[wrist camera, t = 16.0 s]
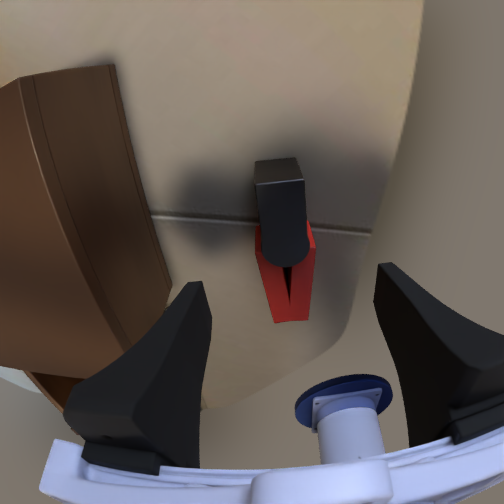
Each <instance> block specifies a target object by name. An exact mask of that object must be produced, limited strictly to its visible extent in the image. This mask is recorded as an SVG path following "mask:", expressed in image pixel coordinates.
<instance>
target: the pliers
mask: <svg viewBox="0 0 504 504" xmlns="http://www.w3.org/2000/svg"><path fill="white" fill-rule="evenodd" d="M254 186H255V193H256V200H257V208H258V215H259V223H260V225H257V226H256V227H255V255H256V259H257V263H258V266H259V270H260V273H261V277H262V281H263V284H264V288H265V292H266V295H267V299H268V302H269V306H270V310H271V313H272V317H273V321H274V323H280V322H286V321H303V320H308V316H309V308H310V300H311V291H312V282H313V273H314V264H315V254H316V245H315V242H314V238H313V235H312V231H311V228H310V224H309V221H308V220H307V213H306V196H305V181H304V178H303V175H302V172H301V170H300V167H299V165H298V162H297V160H296V158H295V157H294V158H284V159H273V160H264V161H256V162H255V183H254ZM285 267H286V268H285Z"/></svg>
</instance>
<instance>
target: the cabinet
mask: <svg viewBox="0 0 504 504" xmlns="http://www.w3.org/2000/svg"><path fill="white" fill-rule="evenodd" d="M171 288H172V283H171V280H170V277H169V274H168V271H167V268H166V265H165V262H164V258H163V255H162V252H161V249H160V246H159V243H158V239H157V236H156V233H155V230H154V226H153V223H152V220H151V216H150V213H149V209H148V206H147V202H146V199H145V195H144V192H143V188H142V184H141V180H140V177H139V173H138V169H137V165H136V161H135V157H134V153H133V149H132V145H131V141H130V137H129V133H128V128H127V124H126V119H125V115H124V110H123V106H122V101H121V96H120V91H119V86H118V81H117V76H116V70H115V65H114V64H112V65H99V66H89V67H80V68H72V69H64V70H57V71H51V72H45V73H39V74H34V75H29V76H24V77H19V78H17V79H15V80H13V81H12V82H10V83H8V84H7V85H5V86H3V87H2V88H0V366H3V367H9V368H14V369H19V370H25V371H31V372H37V373H44V374H51V375H58V376H66V377H74V378H83V379H87V378H89V377H91V376H93V375H94V374H96V373H98V372H99V371H101V370H102V369H104V368H105V367H107V366H108V365H110V364H111V363H112V362H114V361H115V360H116V359H118V358H119V357H120V356H121V355H123V354H124V353H125V352H126V351H128V350H129V349H130V348H131V347H132V346H133V345H135V344H136V343H137V342H138V341H139V340H140V339H141V338H142V337H143V336H144V335H145V334H146V333H147V332H148V331H149V330H150V329H151V327H152V326H153V325H154V324H155V323H156V322H157V321H158V319H159V318H160V317H161V316H162V315H163V313H164V309H165V306H166V303H167V300H168V297H169V294H170V291H171Z"/></svg>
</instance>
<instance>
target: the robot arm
mask: <svg viewBox="0 0 504 504" xmlns="http://www.w3.org/2000/svg"><path fill="white" fill-rule="evenodd" d="M373 303H374V307H375V311H376V314H377V318H378V322H379V325H380V327H381V330H382V332H383V335H384V337H385V340H386V342H387V345H388V348H389V350H390V353H391V355H392V358H393V361H394V363H395V366H396V370H397V373H398V377H399V382H400V386H401V390H402V395H403V401H404V406H405V412H406V419H407V427H408V436H409V448H408V449H405V450H401V451H396V452H392V453H387V454H385V449H384V444H383V440H382V435H381V430H380V426H379V421H378V418H377V413H376V408H377V405H378V402H379V399H380V397H381V394H382V388H374V389H368V390H362V391H356V392H349V393H343V394H335V395H328V396H320V397H315V398H314V399H313V409H312V430H311V431H312V433H318V439H319V449H320V459H321V465H315V466H306V467H294V468H282V469H260V470H259V469H258V470H217V469H200V463H199V462H200V461H199V425H200V404H201V390H202V383H203V378H204V372H205V367H206V362H207V357H208V352H209V346H210V341H211V330H212V315H211V312H210V308H209V305H208V301H207V298H206V294H205V291H204V287H203V283H202V281H198V282H188V283H187V284H186V285H185V286H184V288H183V289H182V290H181V291H180V293H179V294H178V295H177V297H176V298H175V299H174V301H173V302H172V303H171V305H170V306H169V307H168V308H167V310H166V311H165V312H164V313H163V315H162V316H161V317H160V318H159V319H158V321H157V322H156V323H155V324H154V325H153V326H152V327H151V329H150V330H149V331H148V332H147V333H146V334H145V335H144V336H143V337H142V338H141V339H140V340H139V341H138V342H137V343H136V344H135V345H133V346H132V347H131V348H130V349H129V350H128V351H126V352H125V353H124V354H123V355H121V356H120V357H119V358H118V359H116V360H115V361H114V362H112V363H111V364H110V365H108V366H107V367H105V368H104V369H102V370H101V371H99V372H98V373H96V374H94V375H93V376H91V377H89V378H87V379H85V380H83V381H82V382H80V383H78V384H76V385H74V386H73V388H72V390H71V393H70V395H69V398H68V400H67V403H66V405H65V408H64V410H63V417H64V419H65V421H66V422H67V423H68V425H69V426H70V427H71V428H72V429H73V430H75V431H76V432H77V433H78V434H79V435H80V436H81V437H82V438H83V439H84V440H86V441H85V445H84V447H82V446H80V445H78V444H75V443H72V442H68V441H64V440H60V439H54V442H53V445H52V448H51V451H50V454H49V457H48V459H47V463H46V466H45V469H44V472H43V475H42V479H41V482H40V485H39V490H40V491H41V492H43V493H45V494H46V495H48V496H50V497H52V498H54V499H56V500H57V501H59V502H61V503H63V504H455V503H457V502H460V501H462V500H464V499H467V498H469V497H471V496H473V495H475V494H478V493H480V492H482V491H484V490H486V489H488V488H490V487H492V486H494V485H496V484H498V483H499V482H501V481H503V480H504V335H502V334H499V333H497V332H494V331H492V330H489V329H487V328H485V327H483V326H480V325H478V324H477V323H474V322H473V321H471V320H469V319H467V318H465V317H463V316H462V315H460V314H458V313H457V312H455V311H454V310H452V309H451V308H449V307H447V306H446V305H444V304H443V303H441V302H440V301H439V300H437V299H436V298H435V297H433V296H432V295H431V294H429V293H428V292H427V291H426V290H425V289H423V288H422V287H421V286H420V285H418V284H417V283H416V282H415V281H414V280H412V279H411V278H410V277H409V276H408V275H406V274H405V273H404V272H403V271H402V270H401V269H399V268H398V267H397V266H396V265H395V264H393V263H392V262H389V263H382V264H378V269H377V278H376V285H375V293H374V300H373Z"/></svg>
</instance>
